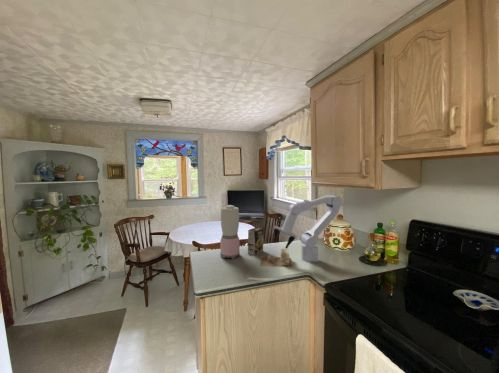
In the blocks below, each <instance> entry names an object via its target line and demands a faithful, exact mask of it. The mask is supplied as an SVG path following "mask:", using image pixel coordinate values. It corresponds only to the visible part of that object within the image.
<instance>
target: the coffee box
mask: <svg viewBox="0 0 499 373" xmlns="http://www.w3.org/2000/svg"><path fill="white" fill-rule="evenodd" d="M247 232H248V233H247V254H248V255H250V256H252V255H255V256H256V255H259V254H260V253H262V252H264V228H262V227H254V228H249V229H248V230H247Z"/></svg>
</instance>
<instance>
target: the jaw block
mask: <svg viewBox="0 0 499 373" xmlns="http://www.w3.org/2000/svg"><path fill="white" fill-rule="evenodd" d="M280 257H281V258H280V259H281V265H289V258H290V253H289V249H288V248H287V249H286V248H280Z"/></svg>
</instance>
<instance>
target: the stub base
mask: <svg viewBox="0 0 499 373" xmlns="http://www.w3.org/2000/svg"><path fill="white" fill-rule="evenodd" d="M280 258H281V256H279V257H278V256H272V255H267V256H260V262H259V263H260V264H259V266H262V267H279V268H284V267H285V268H293V263H292V259H291V258H292V257H289V265H281V259H280Z"/></svg>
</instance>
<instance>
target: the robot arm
mask: <svg viewBox="0 0 499 373" xmlns="http://www.w3.org/2000/svg"><path fill="white" fill-rule="evenodd" d="M323 204H325V206H326V208H327V211H326V212H325V214H324V215H322V217H321V218H320V219H319V220H318V221H317V222H316V223H315V225H313V227H312V228H311V229H308V230H306V231H305V232H304V233H302V234H301V235H300V237H299V236H298V235H297V234H295V233H292V230H293V229H294V226H295V223H296V220H297V218H298V216H299V215H301V214H302V213H304V212H306V211H310V210H311V209H313V207H315V206H320V205H323ZM342 206H343V199H342V197H341V196H339V195H338V196H337V195H333V194H327V195H323V196H321V197H318V198H316V199H312V200H308V199H303V201H301V202H296V203H291V204H290V205H289V206H287V207H288V208H287V211H288V212H287V214H286V217H285V218H284V219H285V220H284V222H283V225H282V227H280V226H278V225H274V226H273V229H274V231H273V234H274V236H273V237H274V238H273V243H275V244H276V242H277V240H278V237H279V235H280V233H283V234H285V235H287V236H289V237H288V241H287V243H286V245H285V248H284V249H288V247H289V246H290V245H291V244H292V243H293V242H294V241H295V240H297V239H298V237H299V240H300V242H301V260H302V261H304V262H319V248H318V246H316V245H317V243H318V241H319V236H320V234H321V233H322V232H324V230H325V229H326V228H327V227H328V225H330V223H331V222H332V221H333V220H334V219H335V218H336V217H337V215H338V214H339V211H340V209H341V207H342Z"/></svg>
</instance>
